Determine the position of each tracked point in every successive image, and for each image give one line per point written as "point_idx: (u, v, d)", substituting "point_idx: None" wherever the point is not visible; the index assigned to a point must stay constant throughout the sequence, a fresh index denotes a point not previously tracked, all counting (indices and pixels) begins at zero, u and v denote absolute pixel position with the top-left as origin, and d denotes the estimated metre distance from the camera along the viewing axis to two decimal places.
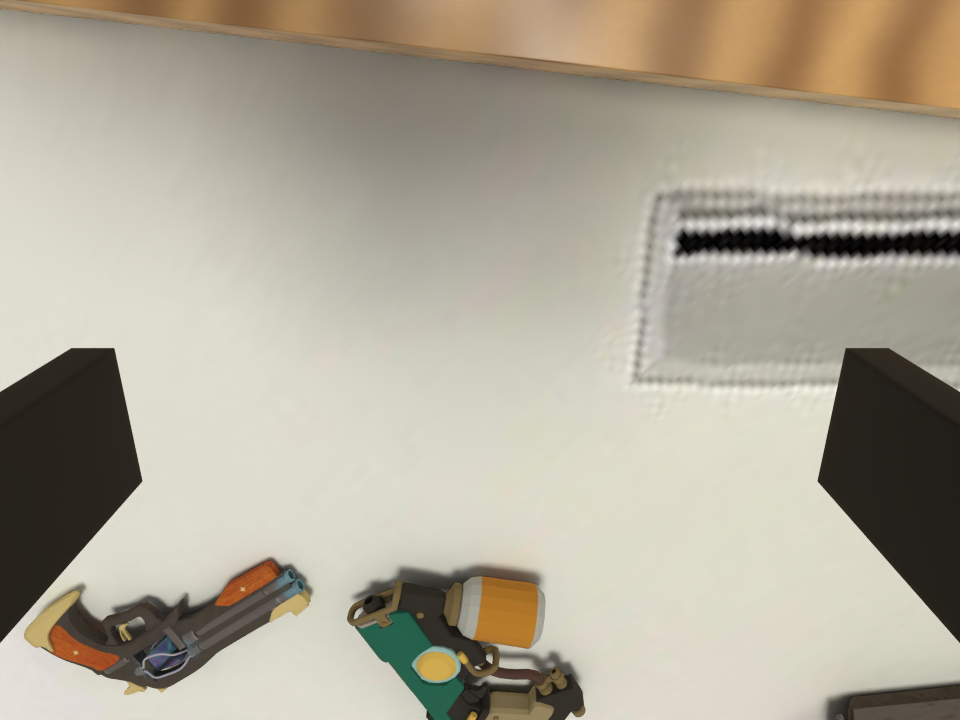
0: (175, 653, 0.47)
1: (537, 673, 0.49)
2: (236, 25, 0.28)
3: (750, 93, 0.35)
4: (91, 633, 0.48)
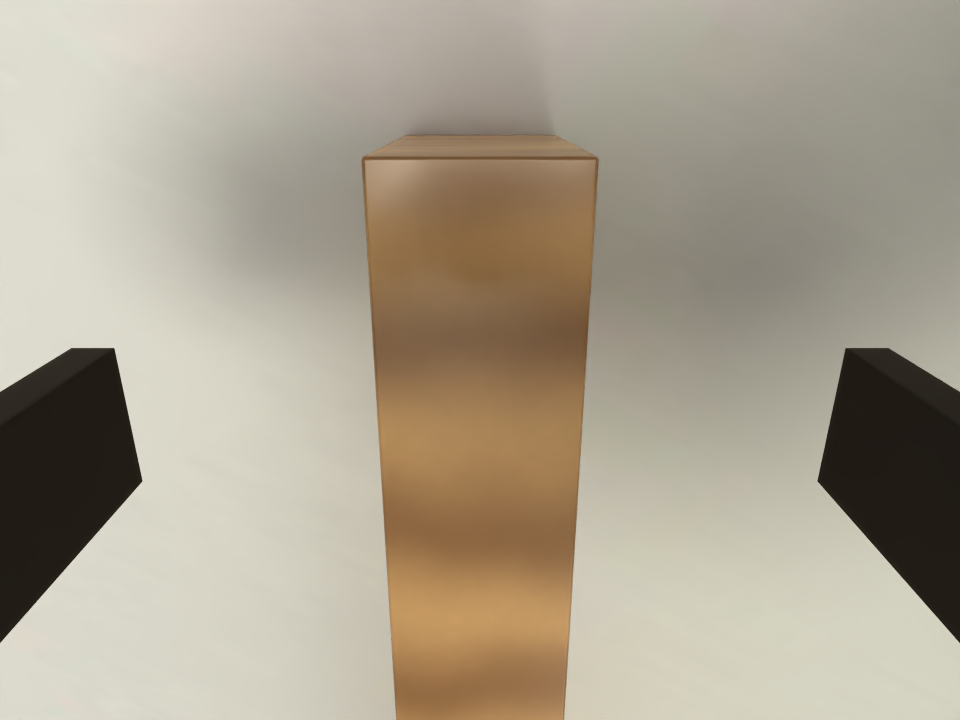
0: None
1: None
2: None
3: None
4: None
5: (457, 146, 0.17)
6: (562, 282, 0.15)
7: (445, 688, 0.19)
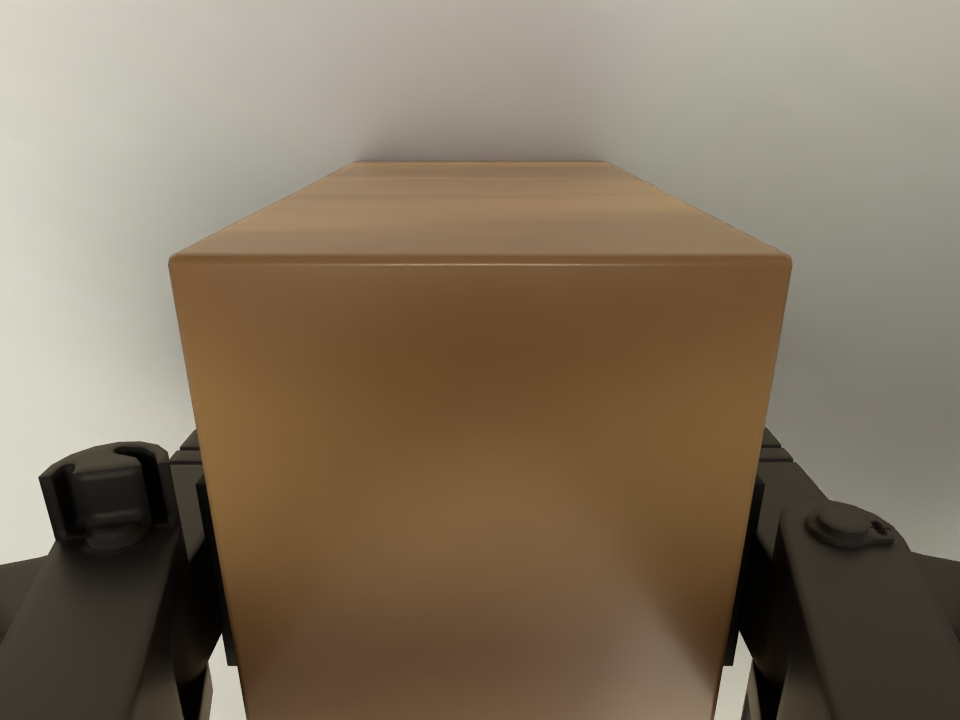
0: None
1: None
2: None
3: None
4: None
5: (433, 200, 0.08)
6: (679, 544, 0.06)
7: None
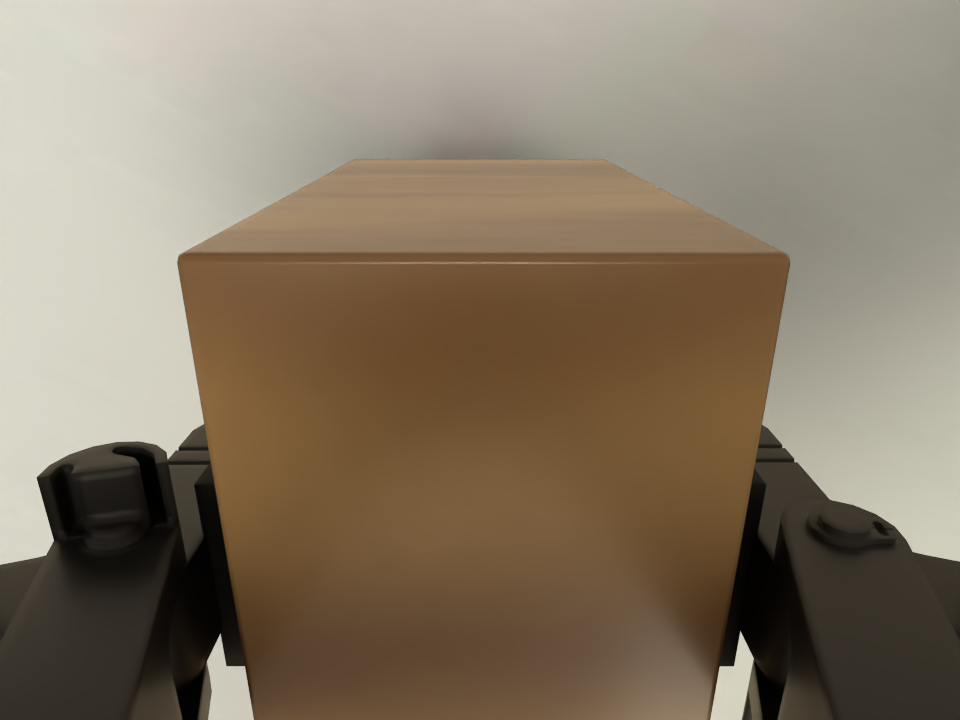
0: None
1: None
2: None
3: None
4: None
5: (435, 199, 0.08)
6: (678, 536, 0.06)
7: None
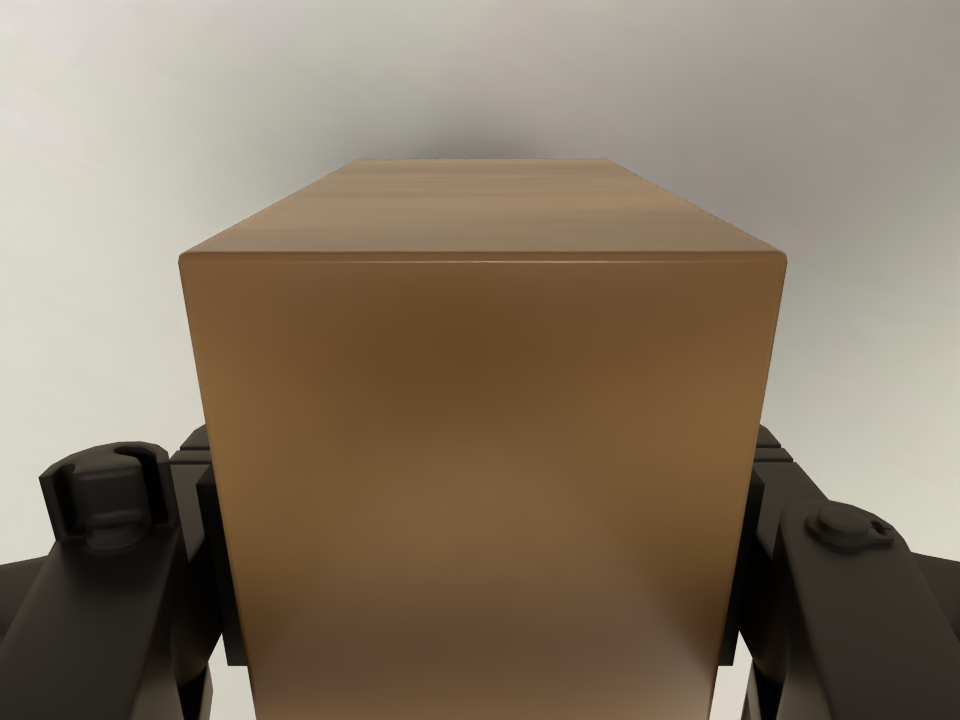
0: None
1: None
2: None
3: None
4: None
5: (435, 198, 0.08)
6: (676, 533, 0.06)
7: None
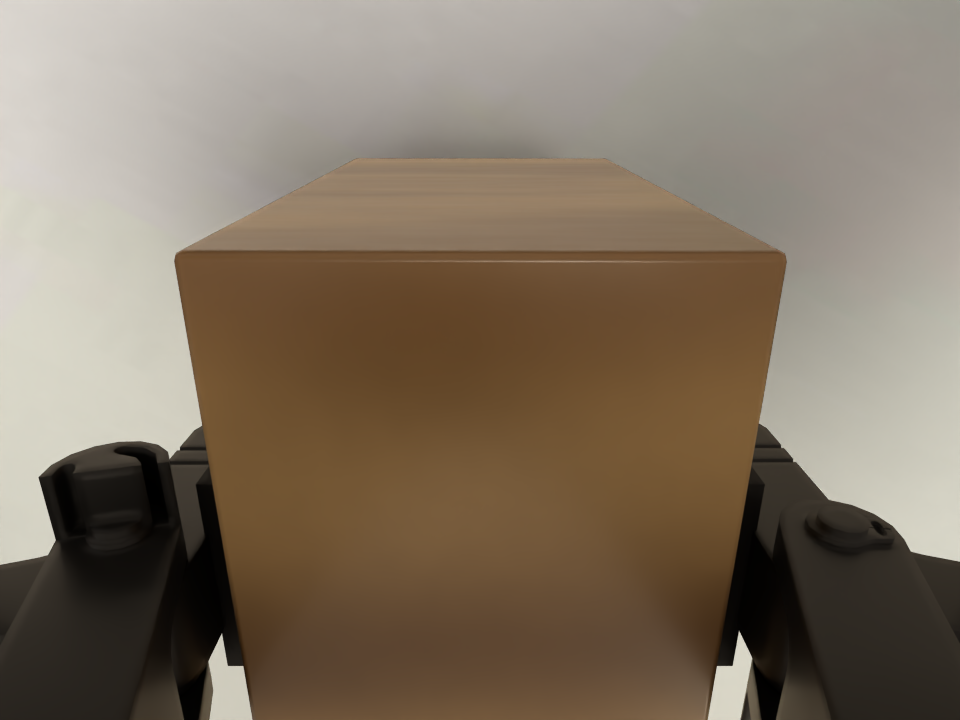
0: None
1: None
2: None
3: None
4: None
5: (433, 198, 0.08)
6: (675, 535, 0.06)
7: None
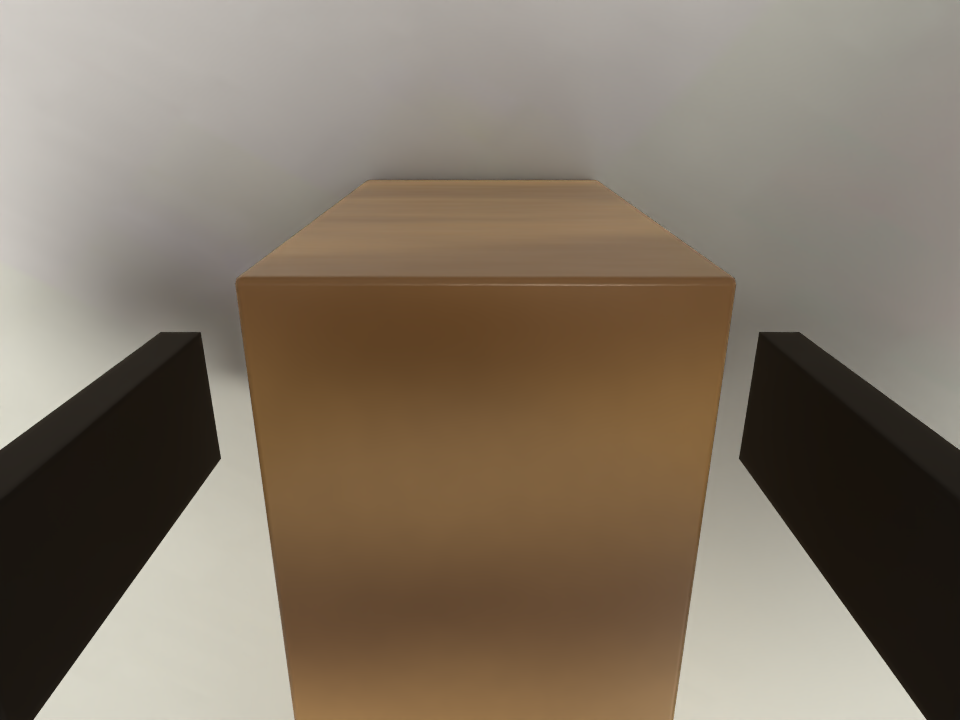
0: None
1: None
2: None
3: None
4: None
5: (443, 224, 0.09)
6: (648, 512, 0.08)
7: None
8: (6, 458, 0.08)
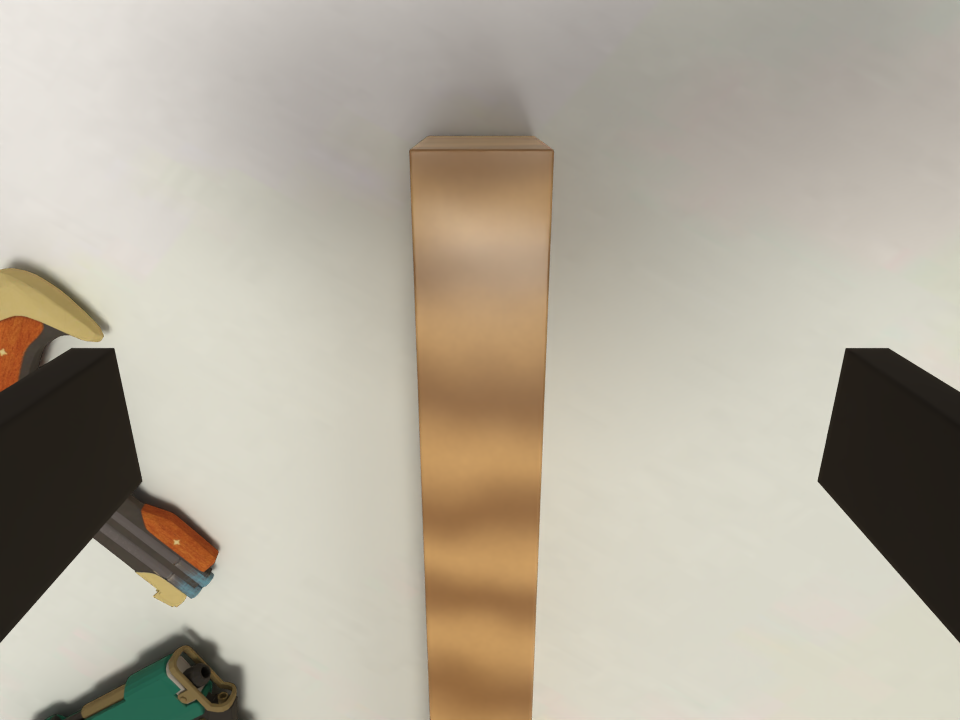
0: None
1: None
2: (425, 586, 0.30)
3: None
4: (37, 359, 0.33)
5: (466, 143, 0.26)
6: (532, 228, 0.24)
7: (457, 513, 0.28)
8: None
